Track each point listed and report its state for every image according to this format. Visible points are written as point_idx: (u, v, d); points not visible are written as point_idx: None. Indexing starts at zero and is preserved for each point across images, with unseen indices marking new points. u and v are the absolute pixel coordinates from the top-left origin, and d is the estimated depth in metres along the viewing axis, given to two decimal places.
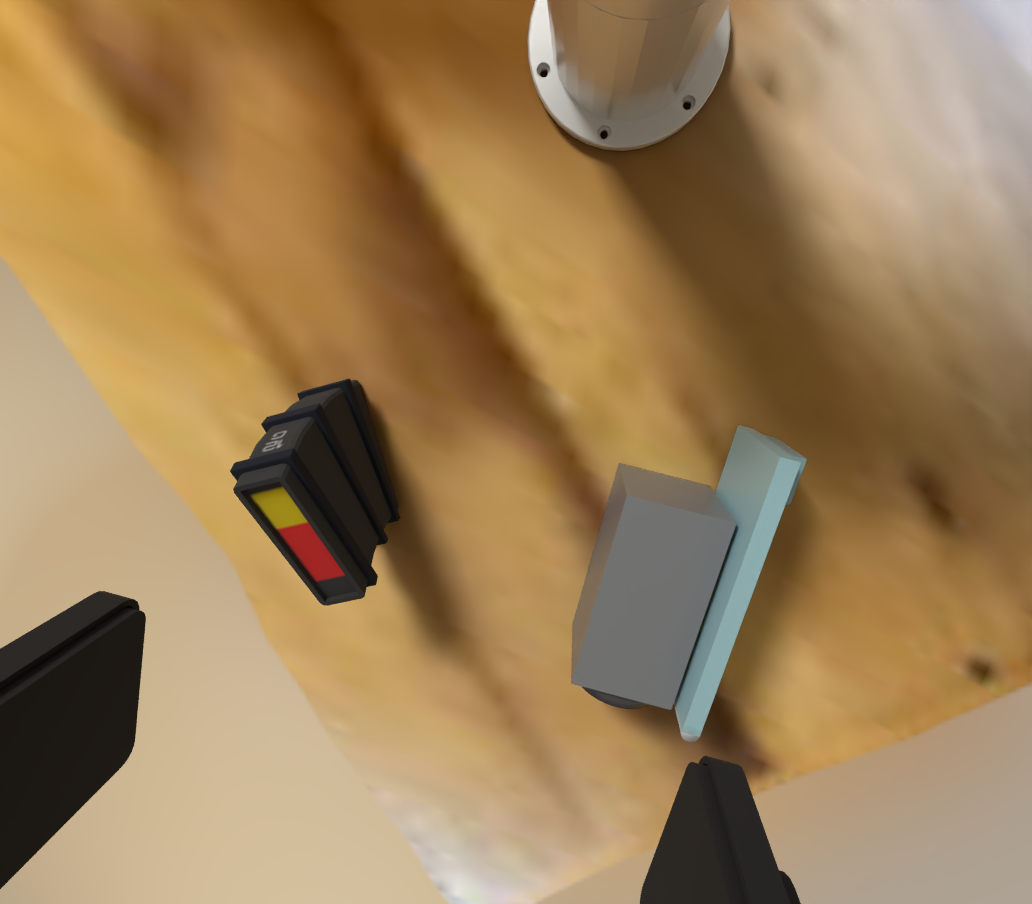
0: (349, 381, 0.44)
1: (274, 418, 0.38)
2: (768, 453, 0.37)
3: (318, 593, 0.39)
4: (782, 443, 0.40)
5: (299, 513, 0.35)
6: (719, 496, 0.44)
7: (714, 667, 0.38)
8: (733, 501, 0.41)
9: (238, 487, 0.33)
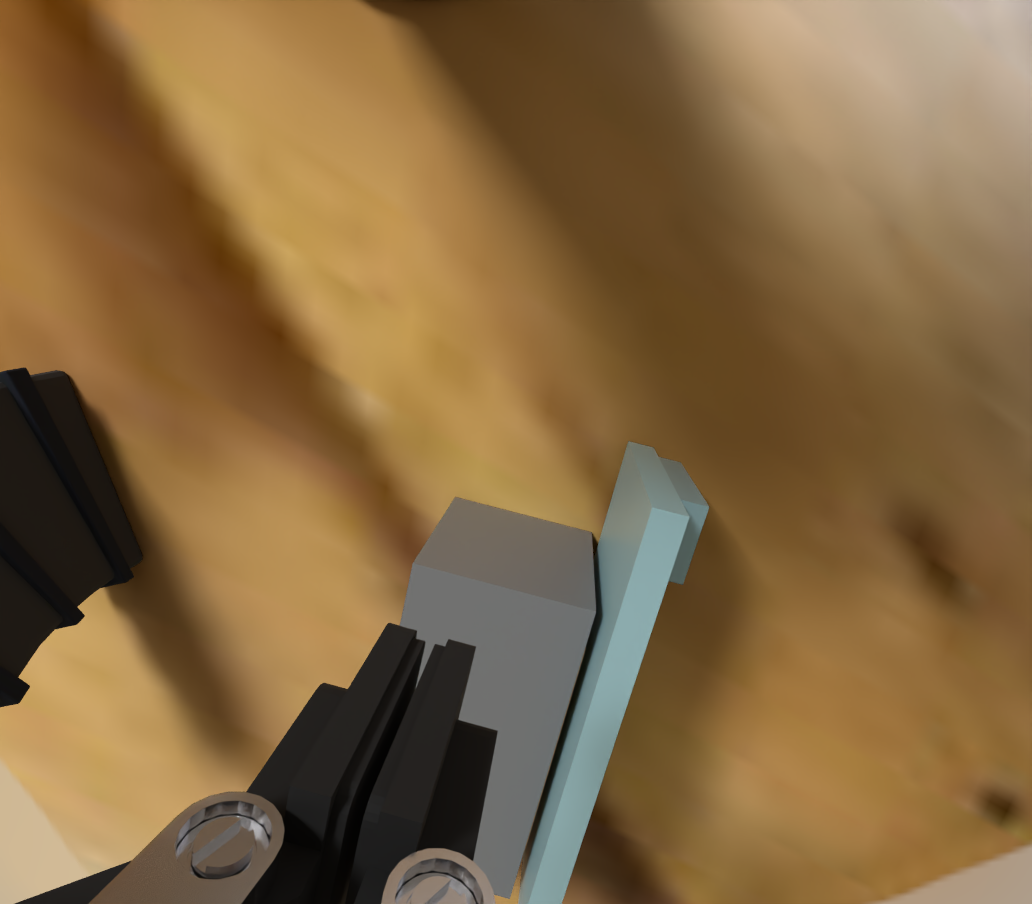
0: (22, 371, 0.28)
1: None
2: (643, 496, 0.21)
3: None
4: (684, 473, 0.25)
5: None
6: (599, 551, 0.28)
7: (559, 854, 0.23)
8: (607, 566, 0.25)
9: None
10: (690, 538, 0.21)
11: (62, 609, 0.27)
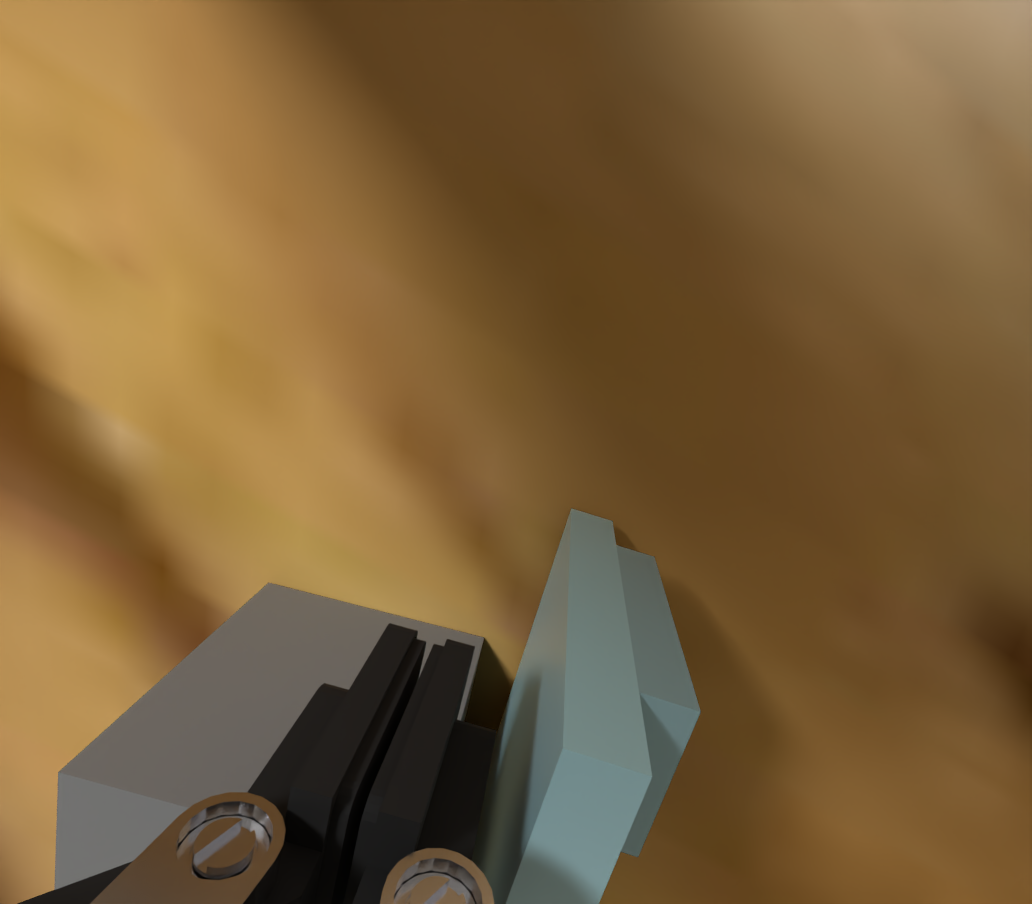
0: None
1: None
2: (560, 676, 0.10)
3: None
4: (656, 591, 0.13)
5: None
6: (516, 687, 0.17)
7: None
8: (510, 748, 0.14)
9: None
10: (657, 770, 0.10)
11: None
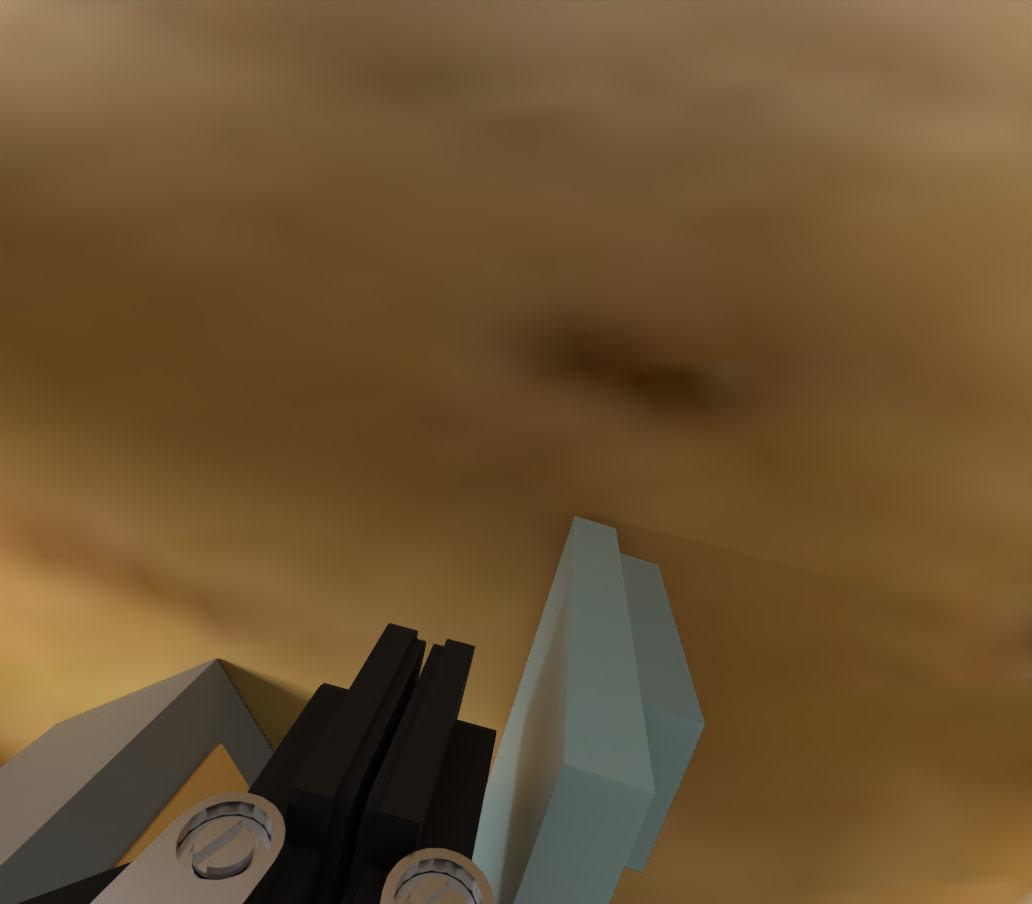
0: None
1: None
2: (562, 689, 0.10)
3: None
4: (660, 600, 0.13)
5: None
6: (519, 697, 0.17)
7: None
8: (513, 759, 0.14)
9: None
10: (661, 784, 0.10)
11: None
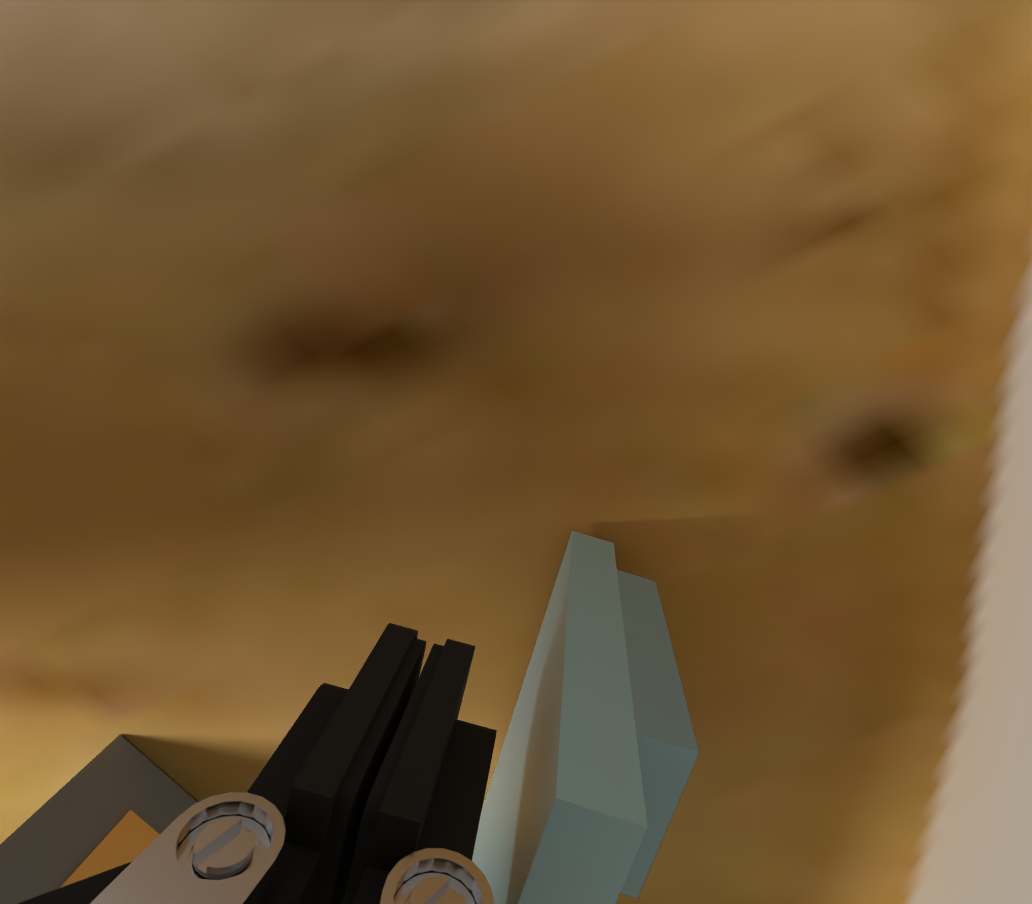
0: None
1: None
2: (557, 716, 0.10)
3: None
4: (657, 619, 0.13)
5: None
6: (517, 711, 0.17)
7: None
8: (510, 778, 0.14)
9: None
10: (655, 811, 0.10)
11: None
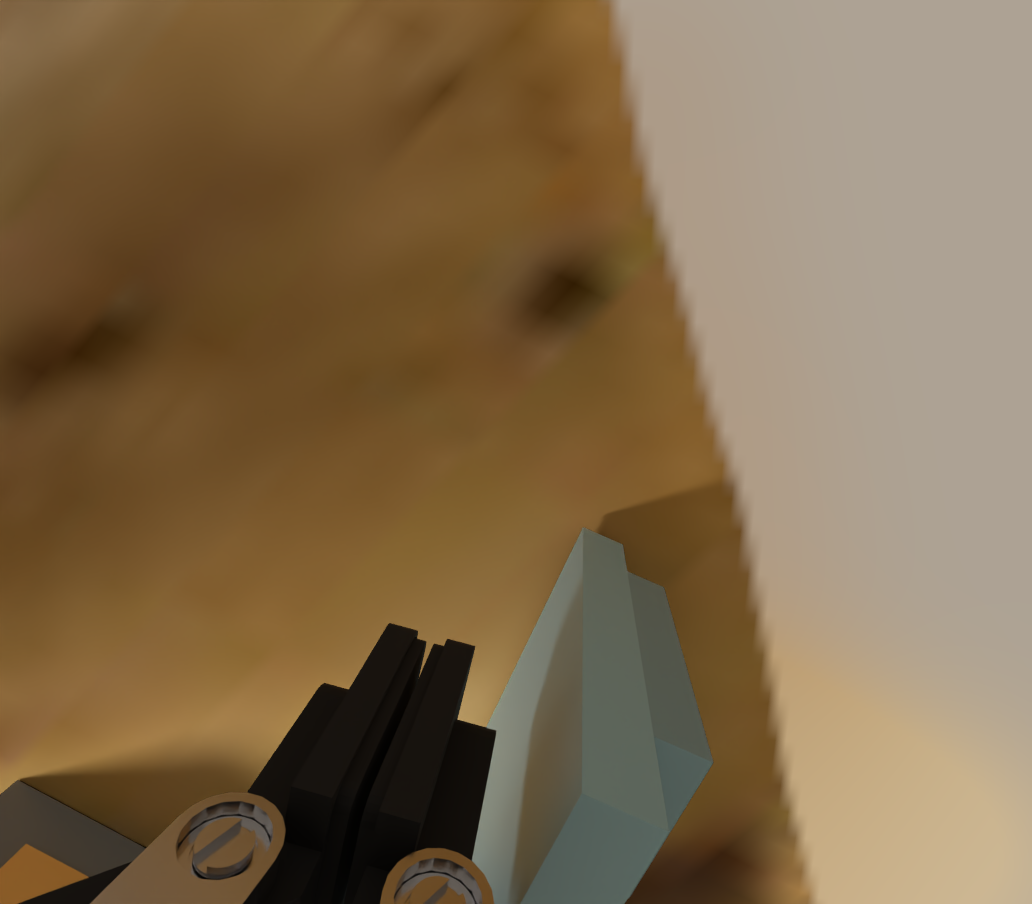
0: None
1: None
2: (574, 710, 0.10)
3: None
4: (667, 625, 0.13)
5: None
6: (506, 700, 0.17)
7: None
8: (500, 766, 0.14)
9: None
10: None
11: None
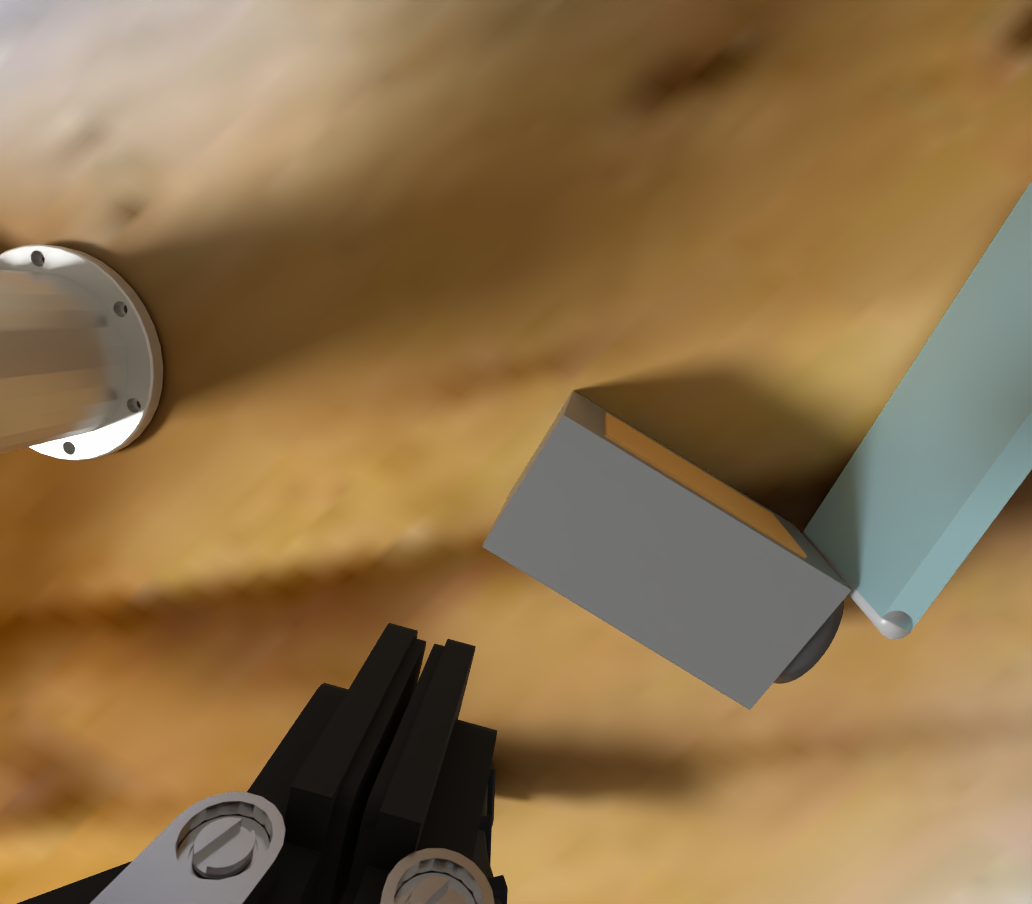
0: None
1: None
2: None
3: None
4: None
5: None
6: (976, 287, 0.28)
7: (977, 513, 0.22)
8: None
9: None
10: None
11: None
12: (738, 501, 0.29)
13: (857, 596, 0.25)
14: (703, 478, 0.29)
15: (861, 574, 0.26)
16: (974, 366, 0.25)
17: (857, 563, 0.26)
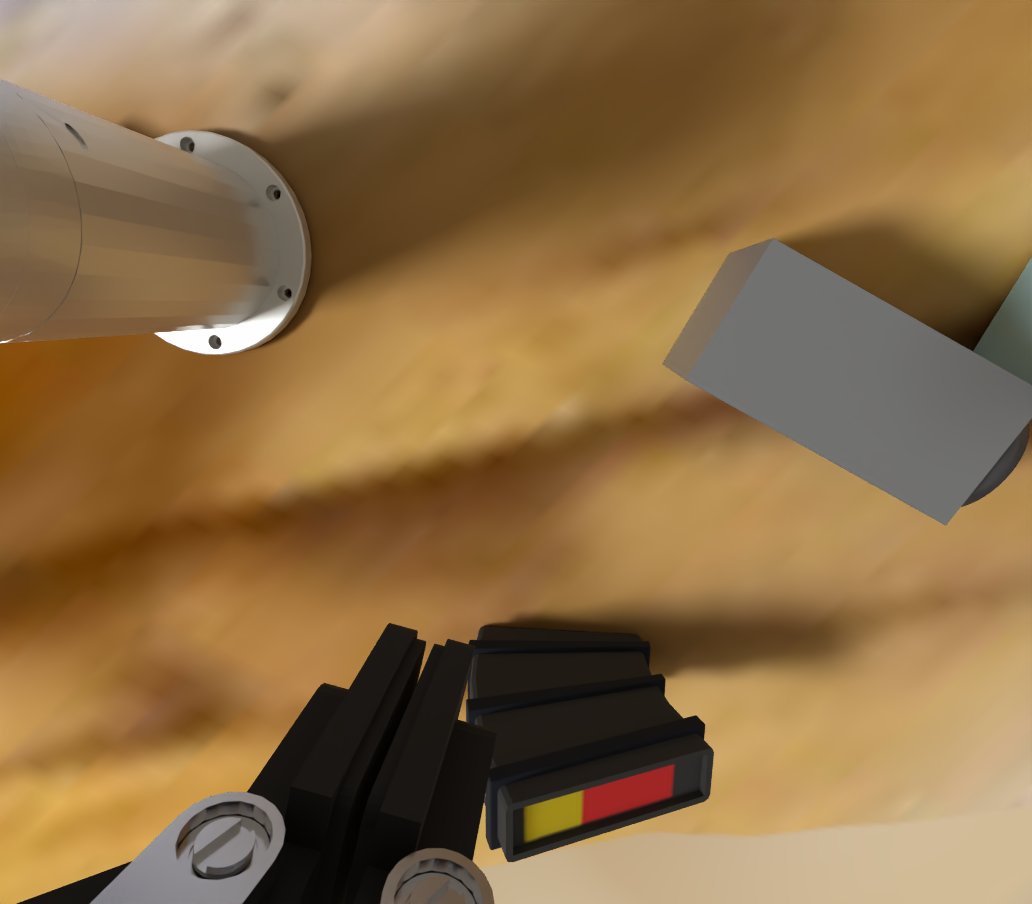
0: (471, 642, 0.38)
1: None
2: None
3: (688, 800, 0.30)
4: None
5: (567, 794, 0.28)
6: None
7: None
8: None
9: (507, 856, 0.27)
10: None
11: (649, 682, 0.34)
12: None
13: None
14: None
15: None
16: None
17: None
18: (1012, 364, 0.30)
